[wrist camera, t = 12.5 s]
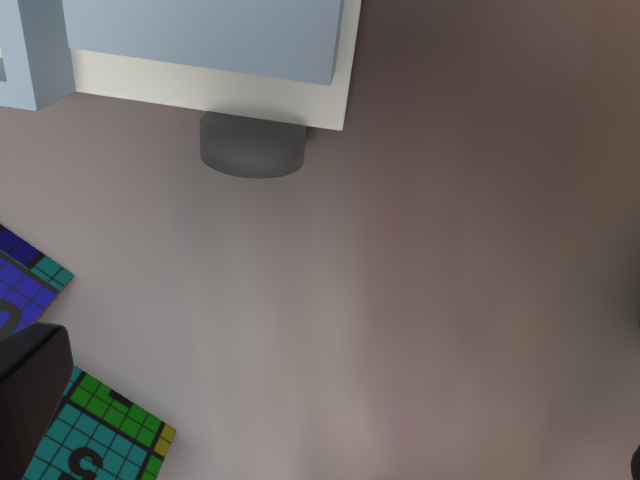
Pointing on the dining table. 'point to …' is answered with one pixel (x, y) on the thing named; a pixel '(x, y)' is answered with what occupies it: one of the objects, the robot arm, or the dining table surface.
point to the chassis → (193, 66)
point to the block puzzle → (76, 389)
